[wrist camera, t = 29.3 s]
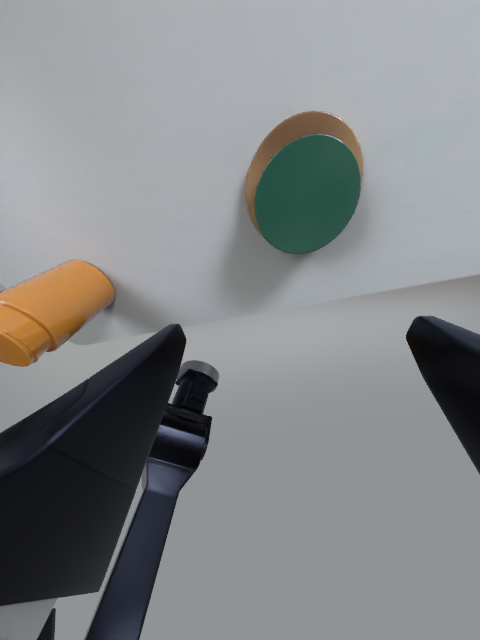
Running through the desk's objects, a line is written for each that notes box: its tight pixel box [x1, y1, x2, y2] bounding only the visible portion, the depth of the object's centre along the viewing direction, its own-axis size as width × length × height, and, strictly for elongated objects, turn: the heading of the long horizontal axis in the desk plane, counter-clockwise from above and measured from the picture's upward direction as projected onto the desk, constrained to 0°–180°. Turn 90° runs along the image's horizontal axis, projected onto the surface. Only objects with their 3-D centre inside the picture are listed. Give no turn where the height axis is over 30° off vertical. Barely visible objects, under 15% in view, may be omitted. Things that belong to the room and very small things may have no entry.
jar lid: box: [254, 133, 361, 254], centre depth 13 cm, size 7×7×2 cm
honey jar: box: [0, 260, 115, 367], centre depth 18 cm, size 6×6×10 cm
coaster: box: [246, 111, 363, 237], centre depth 14 cm, size 8×8×1 cm
